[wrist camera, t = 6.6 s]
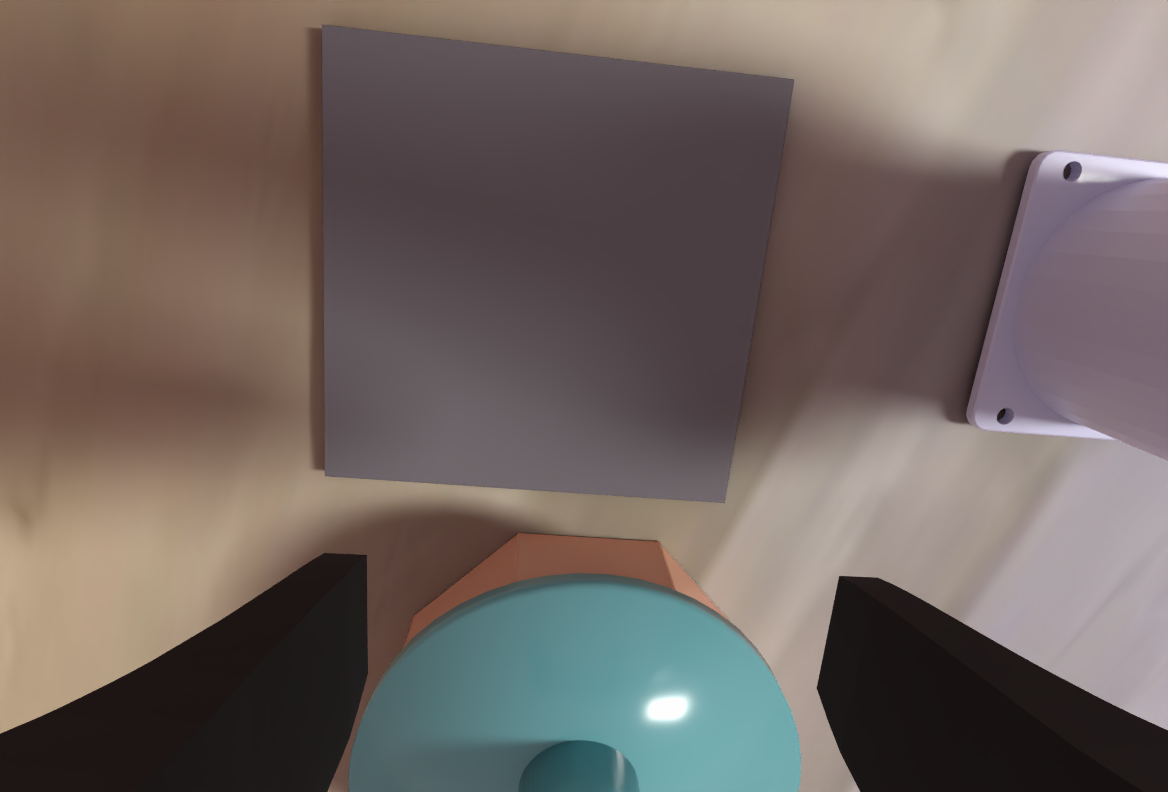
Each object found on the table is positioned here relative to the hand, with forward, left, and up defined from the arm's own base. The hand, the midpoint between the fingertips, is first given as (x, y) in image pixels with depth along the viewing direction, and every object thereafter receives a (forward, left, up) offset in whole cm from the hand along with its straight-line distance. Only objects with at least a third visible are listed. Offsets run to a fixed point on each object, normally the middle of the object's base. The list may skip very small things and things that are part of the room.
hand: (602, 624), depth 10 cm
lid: (-1, +9, -6) cm, 11 cm away
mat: (+1, -4, -10) cm, 11 cm away
